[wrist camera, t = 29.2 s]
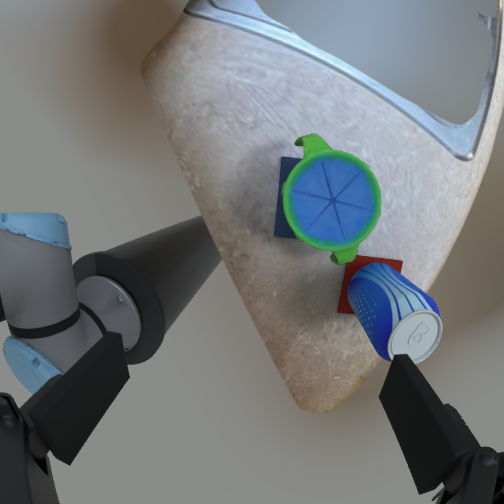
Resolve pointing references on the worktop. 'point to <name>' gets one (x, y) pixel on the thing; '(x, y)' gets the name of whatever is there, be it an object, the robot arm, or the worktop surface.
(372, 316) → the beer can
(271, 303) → the worktop surface
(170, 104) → the worktop surface
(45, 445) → the robot arm
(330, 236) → the snack cup
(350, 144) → the worktop surface
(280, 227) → the blue mat
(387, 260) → the red mat
